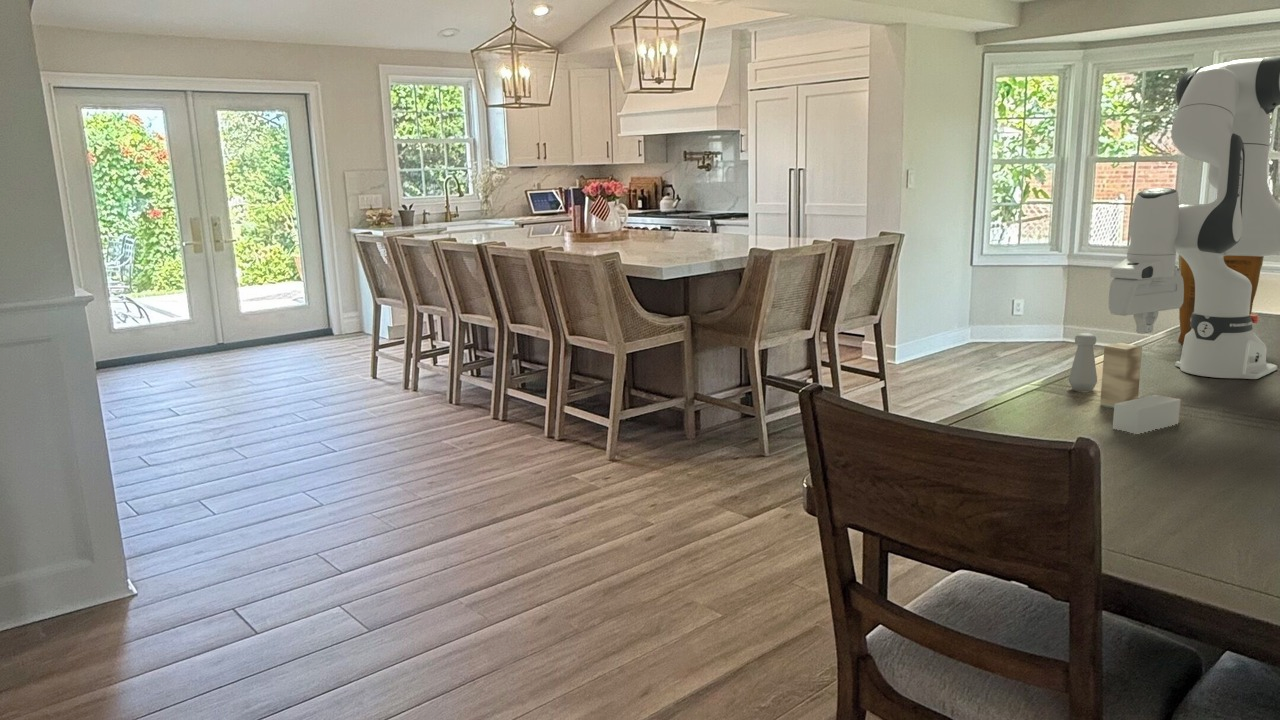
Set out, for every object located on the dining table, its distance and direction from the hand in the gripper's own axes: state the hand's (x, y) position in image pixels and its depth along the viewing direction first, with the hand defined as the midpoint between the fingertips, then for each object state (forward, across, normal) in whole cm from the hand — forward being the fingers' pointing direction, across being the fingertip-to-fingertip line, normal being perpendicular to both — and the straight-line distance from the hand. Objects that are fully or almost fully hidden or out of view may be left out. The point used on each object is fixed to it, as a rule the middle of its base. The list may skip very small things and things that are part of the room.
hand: (1144, 333), depth 188 cm
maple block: (+15, +6, 0) cm, 16 cm away
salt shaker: (+15, 0, -13) cm, 20 cm away
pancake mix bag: (+14, -69, -24) cm, 74 cm away
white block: (+13, +9, +12) cm, 20 cm away
